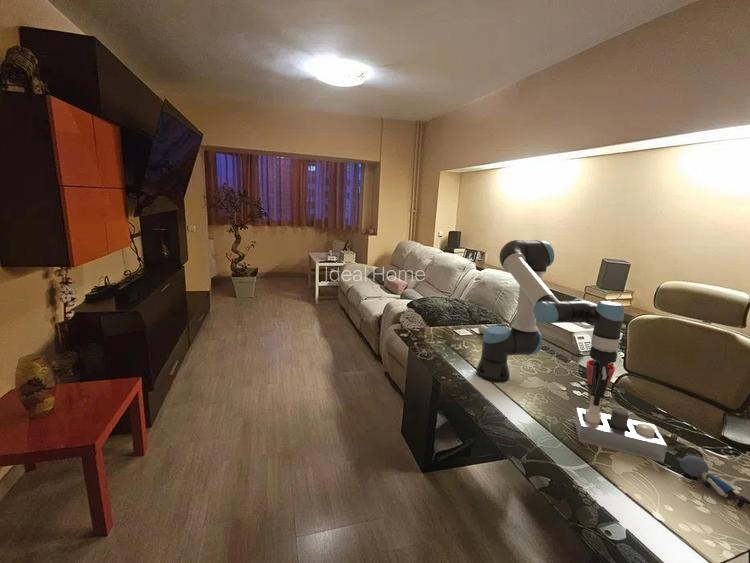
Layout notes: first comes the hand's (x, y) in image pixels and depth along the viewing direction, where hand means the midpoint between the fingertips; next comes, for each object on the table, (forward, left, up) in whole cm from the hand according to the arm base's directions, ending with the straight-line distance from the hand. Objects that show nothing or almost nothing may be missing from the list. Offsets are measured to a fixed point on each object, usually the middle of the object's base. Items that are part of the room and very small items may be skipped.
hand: (593, 412), depth 116 cm
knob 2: (+15, 0, -7) cm, 17 cm away
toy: (+28, -12, -9) cm, 31 cm away
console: (+7, 0, -9) cm, 12 cm away
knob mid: (+7, 0, -4) cm, 9 cm away
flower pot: (+9, +45, -9) cm, 47 cm away
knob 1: (0, 0, -6) cm, 6 cm away
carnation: (-41, +77, -9) cm, 88 cm away
